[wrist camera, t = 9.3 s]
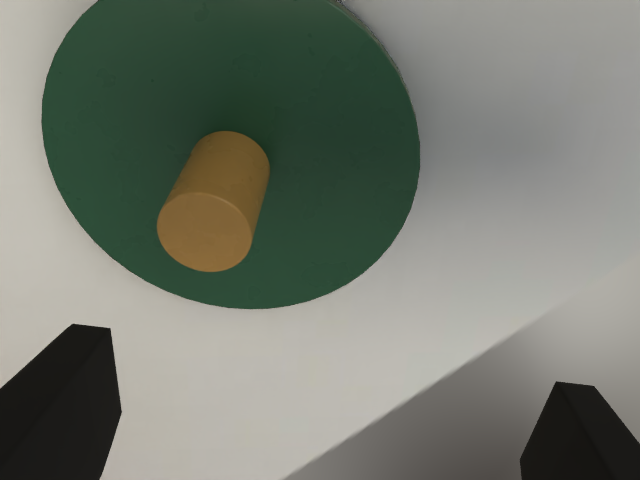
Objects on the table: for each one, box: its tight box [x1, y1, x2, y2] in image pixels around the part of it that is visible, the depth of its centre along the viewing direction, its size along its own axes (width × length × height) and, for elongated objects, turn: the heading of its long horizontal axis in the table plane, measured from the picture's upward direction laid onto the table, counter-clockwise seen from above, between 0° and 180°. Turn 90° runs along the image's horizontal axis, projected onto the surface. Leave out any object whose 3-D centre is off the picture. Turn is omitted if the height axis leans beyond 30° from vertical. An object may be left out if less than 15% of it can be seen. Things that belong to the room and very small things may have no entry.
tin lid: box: [42, 0, 420, 309], centre depth 17 cm, size 11×11×5 cm
